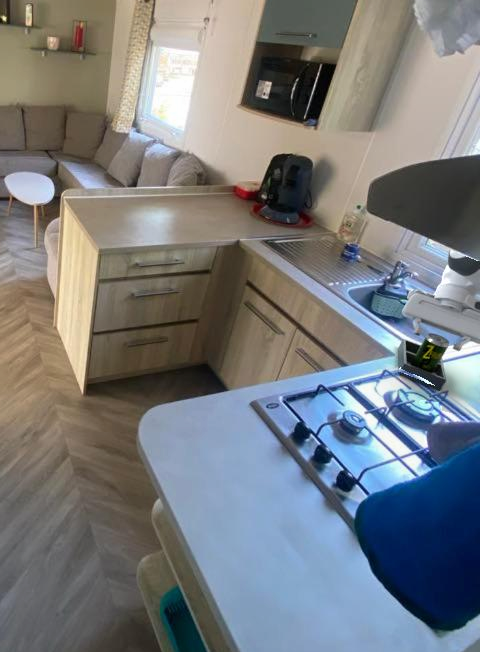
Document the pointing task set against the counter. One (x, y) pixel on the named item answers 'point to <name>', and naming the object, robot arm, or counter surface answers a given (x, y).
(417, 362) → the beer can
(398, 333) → the counter surface
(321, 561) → the counter surface
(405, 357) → the caddy
